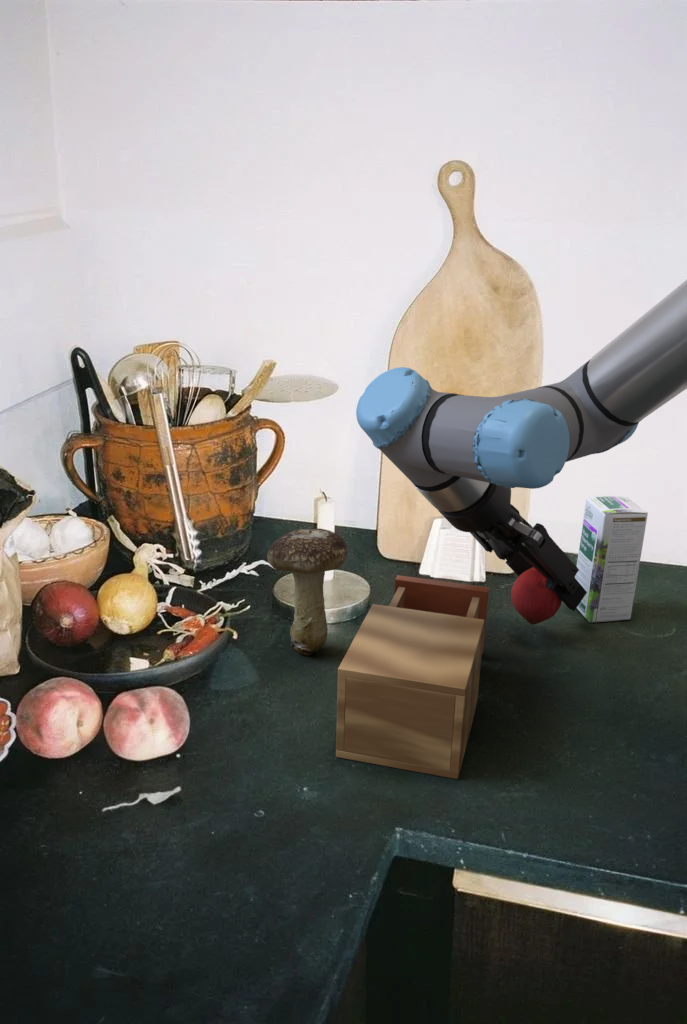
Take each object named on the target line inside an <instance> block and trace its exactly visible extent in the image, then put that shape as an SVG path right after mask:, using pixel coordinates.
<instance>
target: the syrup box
mask: <svg viewBox="0 0 687 1024" xmlns="http://www.w3.org/2000/svg"><path fill="white" fill-rule="evenodd" d="M648 515H649V513H648V511H646V510H644V509H642V508H641V507H640V506H639V505H638V504H636V503H635V502H633V501H632V500H631V499H630V498H628V497H627V496H620V495H619V496H618V495H603V496H602V495H600V496H599V495H598V496H590V497H586V499H585V506H584V512H583V518H582V525H581V532H580V539H579V541H580V542H579V545H578V546H579V547H578V554H577V559H576V560H577V561H576V565H575V566H576V567H577V568H578V569H579V571H578V572H577V574H576V575H575V579H576V580H577V581H578V582H579V583H580V584H581V586H582V587H583V588H584V589H585V590H586V592H587V593H586V595H585V596H584V598H583V599H582V601H581V602H580V603H579V605H578V606H577V608H576V609H577V610H578V612H580V614H581V615H582V616H583V617H584V618H585V619H586V620H587V622H588V623H600V622H601V623H603V622H604V623H605V622H615V621H627V620H631V618H632V613H633V606H634V601H635V594H636V589H637V583H638V576H639V569H640V563H641V558H642V552H643V546H644V541H645V540H644V539H645V534H646V527H647V522H648V521H647V520H648Z"/></svg>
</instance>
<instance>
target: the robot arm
mask: <svg viewBox="0 0 687 1024" xmlns="http://www.w3.org/2000/svg"><path fill="white" fill-rule="evenodd" d="M430 384H431V383H430V382H429V380H428V379H425V378H424V377H423V376H422V375H421V374H419V373H418V372H417V371H416V370H414V369H413V368H411V367H405V366H401V367H394V368H391V369H389V370H386V371H384V372H383V373H381V374H379V375H377V376H376V377H375V378H374V379H373V380H372V381H371V382H370V383H369V384H368V385H367V386H366V387H365V388H364V392H363V393H362V395H361V396H360V397H359V399H358V402H357V405H356V409H355V411H356V412H355V416H356V420H357V423H358V426H359V427H360V428H361V429H362V430H363V432H364V433H365V434H366V435H367V436H368V438H369V439H370V441H372V445H373V446H374V447H375V448H376V449H377V450H379V451H380V452H381V453H382V454H384V456H385V457H387V459H388V460H389V461H390V462H391V463H392V464H393V465H394V466H395V467H396V468H397V469H398V470H399V471H400V472H401V473H402V474H403V475H404V476H405V477H406V479H408V480H409V481H410V482H411V483H412V486H414V488H416V490H417V491H418V492H419V493H420V494H421V495H422V496H423V497H424V499H426V501H428V502H429V504H430V505H431V506H433V508H435V509H436V510H437V511H438V513H440V514H441V515H442V516H443V517H444V519H445V520H446V521H447V522H448V523H449V524H450V525H451V526H452V527H453V528H454V529H456V530H457V531H460V532H462V533H463V532H464V533H469V534H470V535H471V536H472V537H473V538H474V539H475V540H476V541H477V542H478V543H479V544H480V546H481V547H482V548H483V550H484V551H486V552H489V553H492V552H494V554H495V555H496V557H497V558H498V559H499V560H503V561H505V564H506V565H507V566H508V567H509V568H510V570H511V571H513V573H514V574H515V575H516V576H517V578H518V577H519V576H520V575H521V574H522V573H523V572H525V571H526V570H528V569H530V568H533V567H534V568H535V569H536V570H537V571H539V572H540V573H541V574H542V575H543V576H544V577H545V578H546V579H547V580H546V581H545V582H546V583H547V584H546V586H545V587H547V588H548V589H550V590H552V591H554V592H555V593H556V594H557V596H558V597H559V598H560V599H561V600H562V603H564V605H565V606H566V607H567V608H568V609H569V610H571V611H573V612H575V611H576V609H577V606H578V605H579V603H580V602H581V601H582V599H583V598H584V596H585V595H586V593H587V592H586V590H585V589H584V588H583V587H582V586H581V584H580V583H579V582H578V581H577V580H576V579H575V575H576V574H577V572H578V571H579V569H578V568H577V567H576V566H577V565H576V564H575V563H574V562H573V561H572V560H571V559H570V557H569V556H568V555H567V554H566V553H565V552H564V551H563V549H562V548H561V547H560V546H559V545H558V543H556V542H555V540H553V538H552V537H551V536H550V535H549V532H548V530H547V528H546V527H545V526H544V525H543V524H541V523H540V522H536V523H535V524H534V525H533V526H532V525H531V523H529V522H528V521H527V520H526V518H524V517H523V516H522V515H521V514H520V511H519V509H517V507H515V506H514V505H513V504H511V503H512V502H511V501H512V489H515V488H521V489H530V490H531V489H533V490H534V489H535V490H536V489H540V488H544V487H546V486H548V485H549V484H550V483H552V482H553V481H554V478H555V476H556V475H558V474H559V473H561V471H562V470H563V469H564V467H565V464H566V463H567V462H570V461H574V460H578V459H581V458H584V457H587V456H591V455H596V454H597V455H598V454H601V453H605V452H607V451H609V450H611V449H613V448H615V447H616V446H619V445H621V444H622V443H625V442H626V441H628V440H629V439H630V438H631V437H632V436H633V434H634V433H635V431H636V430H637V428H638V426H639V424H640V422H641V421H643V420H644V419H645V418H647V417H649V416H650V415H651V414H652V413H655V411H657V410H658V409H659V408H661V407H663V406H664V405H665V404H667V403H668V402H670V401H672V400H673V399H674V398H675V397H677V396H679V395H680V394H681V393H683V392H684V391H685V390H687V279H686V280H684V281H682V283H680V285H678V286H677V287H675V288H674V289H673V290H672V291H671V292H669V294H667V295H666V296H665V297H663V298H662V299H661V300H660V301H659V302H657V303H656V304H655V305H653V307H651V308H650V309H649V310H648V311H647V312H645V313H644V314H643V315H642V316H640V317H639V318H638V319H637V320H635V321H634V322H633V323H632V324H630V325H629V326H628V327H627V328H625V329H624V330H623V331H622V332H621V333H619V335H617V336H615V338H614V339H612V340H611V341H610V342H609V343H607V344H606V345H605V346H604V347H602V348H601V349H600V350H599V351H597V352H596V353H595V354H594V355H593V356H592V357H591V358H590V359H589V360H588V361H586V362H585V363H583V364H582V365H581V366H580V367H578V368H577V369H576V370H575V371H574V372H572V373H571V374H570V375H568V376H567V377H566V378H565V379H563V380H561V381H559V382H555V383H552V384H547V385H543V386H542V385H541V386H537V387H534V388H530V389H525V390H522V391H517V392H513V393H507V394H504V395H498V396H479V395H478V396H477V395H465V394H458V393H455V392H454V393H453V392H441V391H437V390H435V389H433V388H432V386H431V385H430Z"/></svg>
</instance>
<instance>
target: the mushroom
mask: <svg viewBox="0 0 687 1024" xmlns="http://www.w3.org/2000/svg"><path fill="white" fill-rule="evenodd" d="M348 551H349V549H348V545H347V543H346V541H345V540H344V538H342V536H340V535H339V534H337V533H336V532H334V531H332V530H329V529H325V528H302V529H301V528H299V529H295V530H292V531H289V532H287V533H284V534H283V535H281V536H280V537H279V538H277V539H276V540H275V541H273V543H271V545H270V546H269V548H268V550H267V554H266V555H267V556H266V557H267V562H268V564H269V565H270V566H271V567H272V568H273V569H274V570H277V571H282V572H291V574H292V576H293V581H294V591H293V592H294V594H293V598H294V600H293V601H294V614H293V622H292V625H291V626H290V630H289V634H290V643H289V644H290V647H291V649H292V650H293V651H294V652H295V653H298V654H300V655H302V656H311V655H313V654H315V652H317V651H319V650H320V649H321V648H322V647H323V646H324V645H325V643H326V642H327V638H328V622H327V613H326V610H325V609H326V607H325V597H324V584H325V575H326V572H330V571H334V570H337V569H338V568H340V567H341V566H342V565H343V564H344V563H345V562H346V560H347V557H348V553H349V552H348Z"/></svg>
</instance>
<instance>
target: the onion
mask: <svg viewBox="0 0 687 1024" xmlns="http://www.w3.org/2000/svg"><path fill="white" fill-rule="evenodd" d="M546 580H547V579H546V578H545V577H544V576H543V575H542V574H541V573H540V572H539V571H537V570H536V569H535V568H534V567H533V568H530V569H528V570H526V571H525V572H523V573H522V574H521V575H520V576H519V577H518V576H517V578H516V579H515V581H514V583H513V584H512V587H511V590H510V599H511V604H512V605H513V608H514V610H515V611H516V612H517V613H518V614H519V615H520V616H521V617H522V618H523V620H525V621H526V622H527V623H528V624H530V625H537V624H540V623H543V622H544V621H547V620H549V619H551V618H553V617H554V616H555V615H556V613H557V612H558V611H559V609H560V608H561V606H562V603H563V601H562V600H561V599H560V598H559V597H558V596H557V594H556V593H555V592H554V591H552V590H550V589H548V588H547V587H545V586H546V584H547V583H546V582H545V581H546Z"/></svg>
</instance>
